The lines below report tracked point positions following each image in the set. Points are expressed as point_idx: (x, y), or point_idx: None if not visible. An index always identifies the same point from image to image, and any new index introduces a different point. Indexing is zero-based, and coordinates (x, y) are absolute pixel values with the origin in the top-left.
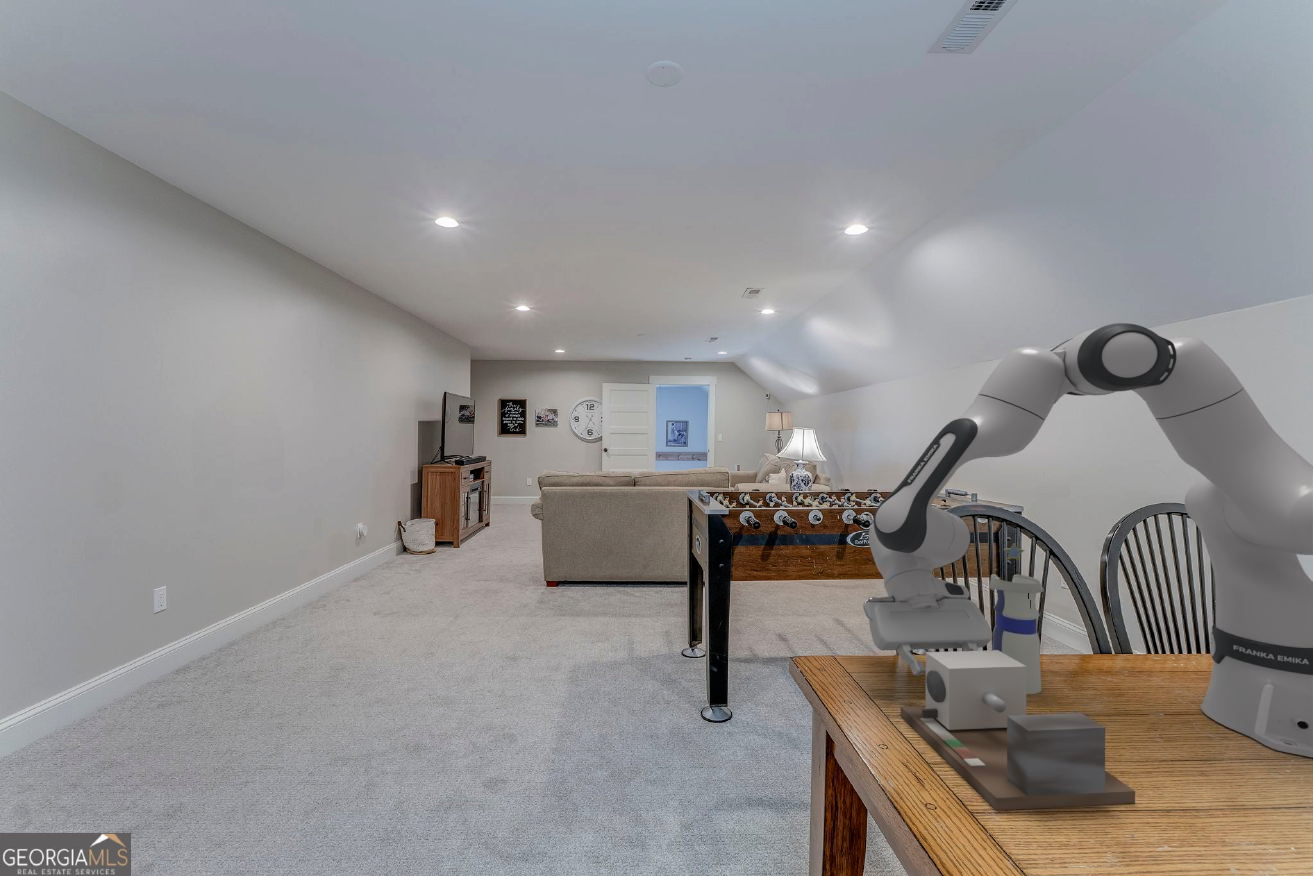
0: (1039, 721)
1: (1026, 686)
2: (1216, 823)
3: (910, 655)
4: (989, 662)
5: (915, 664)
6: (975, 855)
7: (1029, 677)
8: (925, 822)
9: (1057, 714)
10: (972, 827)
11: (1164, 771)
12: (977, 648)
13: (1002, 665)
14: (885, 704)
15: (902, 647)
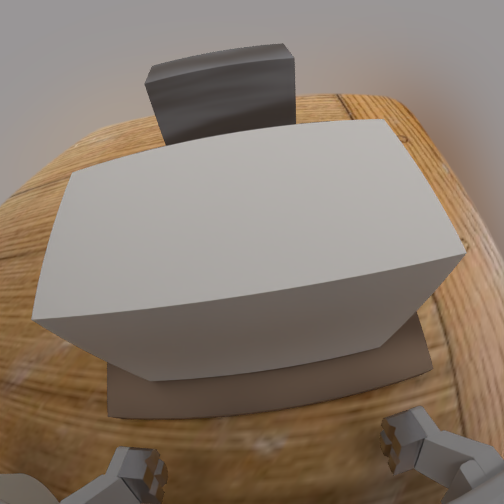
0: (246, 54)
1: (24, 479)
2: (95, 156)
3: (459, 444)
4: (179, 173)
5: (432, 420)
6: (368, 100)
7: (4, 477)
8: (407, 123)
9: (193, 70)
10: (363, 118)
11: (44, 230)
12: (62, 501)
13: (148, 157)
14: (441, 429)
15: (500, 459)
